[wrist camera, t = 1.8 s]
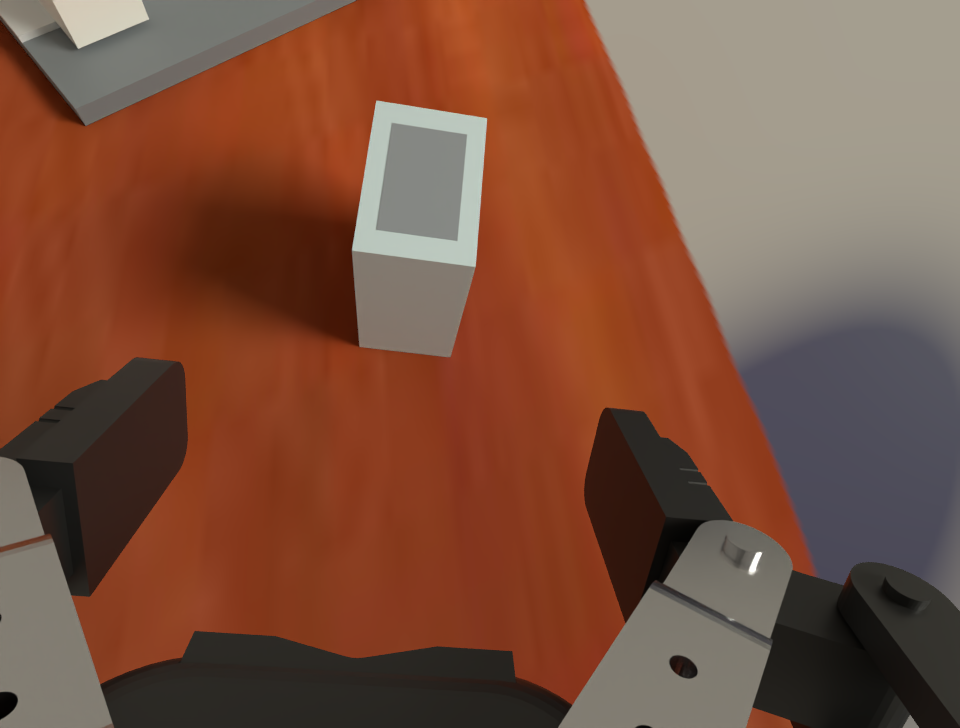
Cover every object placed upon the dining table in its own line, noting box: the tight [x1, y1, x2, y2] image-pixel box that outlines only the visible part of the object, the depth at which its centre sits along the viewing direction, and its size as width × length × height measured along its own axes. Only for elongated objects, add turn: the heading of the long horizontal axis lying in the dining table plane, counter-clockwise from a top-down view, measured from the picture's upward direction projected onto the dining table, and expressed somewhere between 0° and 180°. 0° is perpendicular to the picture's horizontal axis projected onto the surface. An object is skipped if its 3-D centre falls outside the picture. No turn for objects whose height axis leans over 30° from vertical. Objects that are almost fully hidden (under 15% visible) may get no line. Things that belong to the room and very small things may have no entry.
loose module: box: [352, 101, 487, 357], centre depth 28 cm, size 4×7×9 cm, turn 175°
